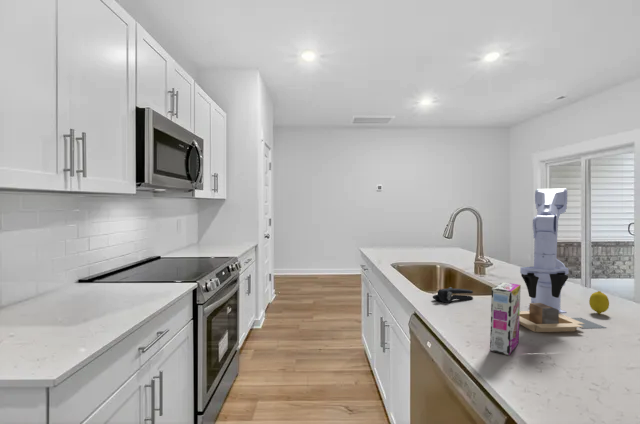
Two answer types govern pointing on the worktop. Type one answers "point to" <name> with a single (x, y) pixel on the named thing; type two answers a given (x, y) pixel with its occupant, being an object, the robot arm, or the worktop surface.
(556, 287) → the robot arm
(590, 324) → the rubber mat
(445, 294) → the can opener
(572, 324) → the carton
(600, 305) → the lemon
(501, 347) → the candy bar box
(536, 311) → the walnut box
